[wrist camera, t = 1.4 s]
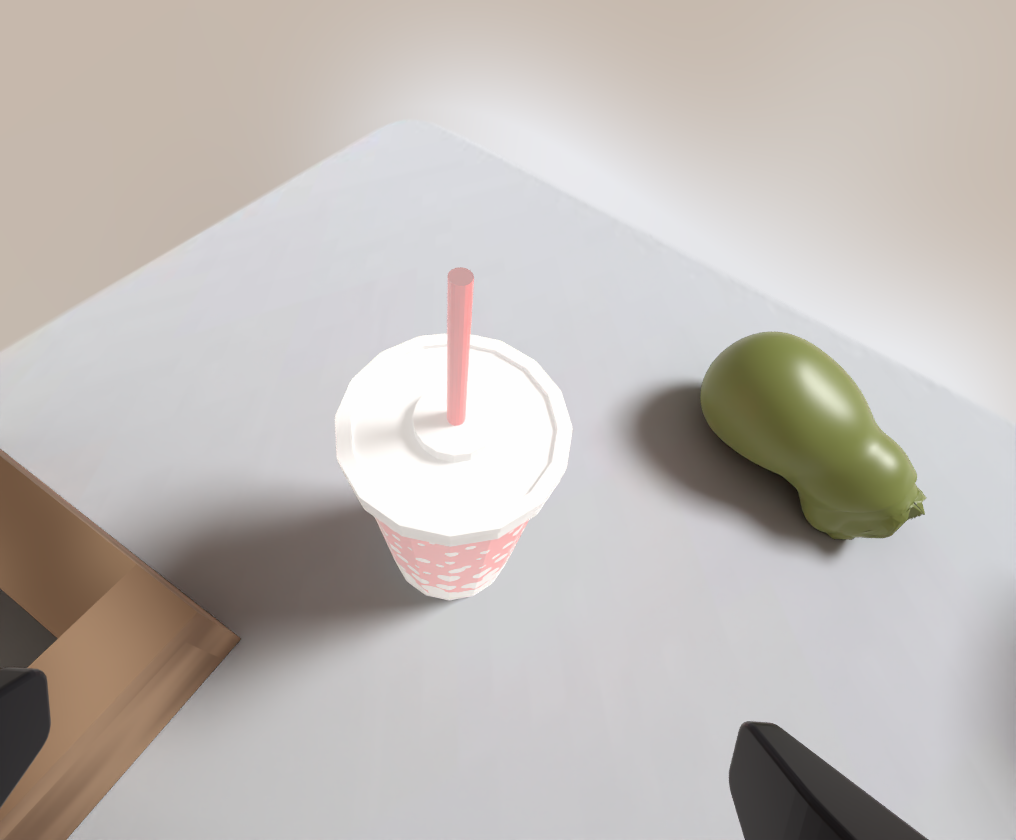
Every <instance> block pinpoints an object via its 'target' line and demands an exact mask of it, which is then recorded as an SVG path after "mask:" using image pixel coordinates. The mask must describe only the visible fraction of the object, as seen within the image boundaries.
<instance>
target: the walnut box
mask: <svg viewBox="0 0 1016 840" xmlns="http://www.w3.org/2000/svg"><path fill="white" fill-rule="evenodd" d="M0 589H2V590H3V591H4V592H5V593H6V594H7V595H8V596H10V597H11V598H12V599H13V600H14V601H15V602H16V603H18V604H19V605H20V606H21V607H22V608H23V609H24V610H26V611H27V612H28V613H29V614H30V615H31V616H32V617H34V618H35V619H36V620H37V621H38V622H39V623H40V624H42V625H43V626H44V627H45V628H46V629H47V630H49V631H50V632H51V633H52V634H53V635H54V636H55V637H57V638H58V639H57V640H56V641H55V642H54V643H53V644H52V645H51V646H50V647H49V648H48V649H46V650H45V651H44V652H43V653H42V654H41V655H40V656H39V657H38V658H37V659H36V660H35V661H34V662H33V663H32V664H31V665H30V666H29V667H27V668H33V669H39V670H41V671H43V672H44V674H45V675H46V677H47V683H48V694H49V705H50V716H51V727H50V732H49V735H48V738H47V740H46V742H45V744H44V746H43V747H42V749H41V751H40V752H39V753H38V755H37V756H36V758H35V759H34V761H33V762H32V764H31V765H30V766H29V768H28V769H27V771H26V772H25V774H24V775H23V777H22V778H21V779H20V781H19V782H18V784H17V785H16V787H15V788H14V789H13V791H12V792H11V794H10V795H9V797H8V798H7V800H6V801H5V802H4V804H3V805H2V807H1V808H0V840H66V839H67V838H68V837H69V836H70V835H71V834H72V832H73V831H74V830H75V829H76V828H77V827H78V826H79V824H80V823H81V822H82V821H83V820H84V819H85V818H86V816H87V815H88V814H89V813H90V812H91V811H92V810H93V808H94V807H95V806H96V805H97V804H98V803H99V801H100V800H101V799H102V798H103V797H104V796H105V795H106V793H107V792H108V791H109V790H110V789H111V788H112V787H113V785H114V784H115V783H116V782H117V781H118V780H119V779H120V777H121V776H122V775H123V774H124V773H125V772H126V770H127V769H128V768H129V767H130V766H131V765H132V764H133V762H134V761H135V760H136V759H137V758H138V757H139V756H140V754H141V753H142V752H143V751H144V750H145V749H146V748H147V746H148V745H149V744H150V743H151V742H152V741H153V739H154V738H155V737H156V736H157V735H158V734H159V733H160V731H161V730H162V729H163V728H164V727H165V726H166V725H167V723H168V722H169V721H170V720H171V719H172V718H173V717H174V715H175V714H176V713H177V712H178V711H179V710H180V708H181V707H182V706H183V705H184V704H185V703H186V702H187V700H188V699H189V698H190V697H191V696H192V695H193V694H194V692H195V691H196V690H197V689H198V688H199V687H200V686H201V684H202V683H203V682H204V681H205V680H206V679H207V677H208V676H209V675H210V674H211V673H212V672H213V671H214V669H215V668H216V667H217V666H218V665H219V664H220V663H221V661H222V660H223V659H224V658H225V657H226V656H227V655H228V653H229V652H230V651H231V650H232V649H233V648H234V646H235V645H236V644H237V643H238V642H239V641H240V640H241V638H240V637H238V636H237V635H236V634H235V633H233V632H232V631H231V630H229V629H228V628H227V627H226V626H224V625H223V624H222V623H221V622H219V621H218V620H217V619H215V618H214V617H213V616H212V615H210V614H209V613H208V612H207V611H205V610H204V609H203V608H202V607H200V606H199V605H198V604H196V603H195V602H194V601H193V600H191V599H190V598H189V597H188V596H186V595H185V594H184V593H183V592H181V591H180V590H179V589H177V588H176V587H175V586H174V585H172V584H171V583H170V582H169V581H167V580H166V579H165V578H163V577H162V576H161V575H160V574H158V573H157V572H156V571H155V570H153V569H152V568H151V567H150V566H148V565H147V564H146V563H144V562H143V561H142V560H141V559H139V558H138V557H137V556H136V555H134V554H133V553H132V552H131V551H129V550H128V549H127V548H125V547H124V546H123V545H122V544H120V543H119V542H118V541H117V540H115V539H114V538H113V537H111V536H110V535H109V534H108V533H106V532H105V531H104V530H103V529H101V528H100V527H99V526H98V525H96V524H95V523H94V522H92V521H91V520H90V519H89V518H87V517H86V516H85V515H84V514H82V513H81V512H80V511H79V510H77V509H76V508H75V507H73V506H72V505H71V504H70V503H68V502H67V501H66V500H65V499H63V498H62V497H61V496H60V495H58V494H57V493H56V492H54V491H53V490H52V489H51V488H49V487H48V486H47V485H46V484H44V483H43V482H42V481H40V480H39V479H38V478H37V477H35V476H34V475H33V474H32V473H30V472H29V471H28V470H27V469H25V468H24V467H23V466H21V465H20V464H19V463H18V462H16V461H15V460H14V459H13V458H11V457H10V456H9V455H8V454H6V453H5V452H4V451H2V450H1V449H0Z"/></svg>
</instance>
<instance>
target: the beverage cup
mask: <svg viewBox="0 0 1016 840" xmlns="http://www.w3.org/2000/svg"><path fill="white" fill-rule="evenodd" d="M473 284H474V276H473V273H472V272H471V271H470V270H468V269H466V268H455V269H452V270H451V271H450V272H449V274H448V305H447V333H446V334H435V335H424V336H418V337H415V338H413V339H411V340H408V341H406V342H404V343H401V344H399V345H397V346H394V347H392V348H390V349H387V350H385V351H383V352H380V353H379V354H378V355H377V356H376V357H375V358H374V359H373V360H372V361H371V362H370V363H369V364H368V365H367V366H365V367H364V368H363V369H362V370H361V371H360V372H359V373H358V374H357V375H356V376H355V377H354V378H353V379H352V380H351V381H350V383H349V386H348V388H347V390H346V392H345V395H344V397H343V399H342V402H341V404H340V406H339V408H338V411H337V413H336V415H335V432H336V453H337V460H338V463H339V465H340V467H341V469H342V470H343V473H344V475H345V477H346V479H347V480H348V482H349V484H350V486H351V487H352V489H353V491H354V493H355V494H356V496H357V498H358V500H359V501H360V503H361V505H362V506H363V508H364V510H366V511H367V512H368V513H370V514H371V515H373V516H374V517H375V519H376V521H377V523H378V525H379V527H380V530H381V532H382V534H383V536H384V538H385V540H386V543H387V545H388V547H389V549H390V551H391V553H392V555H393V558H394V560H395V562H396V564H397V565H398V567H399V569H400V571H401V572H402V574H403V576H404V577H405V579H406V581H407V582H408V583H410V584H411V585H412V586H414V587H415V588H416V589H418V590H419V591H421V592H422V593H423V594H425V595H427V596H431V597H436V598H440V599H445V600H454V599H460V598H465V597H471V596H474V595H475V594H477V593H478V592H480V591H481V590H483V589H484V588H486V587H488V586H489V585H491V584H492V583H493V582H494V580H495V579H496V577H497V576H498V574H499V573H500V572H501V570H502V569H503V567H504V566H505V564H506V562H507V560H508V559H509V557H510V555H511V553H512V551H513V549H514V547H515V545H516V543H517V542H518V540H519V538H520V536H521V534H522V532H523V530H524V528H525V526H526V525H527V523H528V521H529V519H531V518H533V517H534V516H536V515H537V514H538V512H539V511H540V509H541V508H542V506H543V505H544V504H545V502H546V501H547V499H548V498H549V496H550V495H551V493H552V492H553V490H554V489H555V487H556V486H557V484H558V483H559V482H560V479H561V477H562V476H563V474H564V473H565V471H566V468H567V463H568V456H569V449H570V443H571V436H572V429H573V427H572V424H571V421H570V418H569V414H568V411H567V408H566V404H565V401H564V398H563V395H562V391H561V390H560V389H559V388H558V386H557V385H556V384H555V383H554V382H553V380H552V379H551V378H550V377H549V376H548V375H547V373H546V372H545V371H544V370H543V369H542V367H541V366H540V365H539V364H538V363H537V361H535V360H534V359H532V358H530V357H528V356H527V355H525V354H523V353H521V352H520V351H518V350H516V349H514V348H513V347H511V346H509V345H507V344H506V343H504V342H502V341H499V340H495V339H490V338H485V337H481V336H476V335H471V317H472V301H473Z"/></svg>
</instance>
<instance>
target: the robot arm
mask: <svg viewBox="0 0 1016 840" xmlns="http://www.w3.org/2000/svg"><path fill="white" fill-rule="evenodd" d="M50 727H51V716H50V705H49V694H48V683H47V677H46V675H45V674H44V672H43V671H41V670H39V669H33V668H20V667H6V668H2V669H0V808H1V807H2V805H3V804H4V802H5V801H6V800H7V798H8V797H9V795H10V794H11V792H12V791H13V789H14V788H15V787H16V785H17V784H18V782H19V781H20V779H21V778H22V777H23V775H24V774H25V772H26V771H27V769H28V768H29V766H30V765H31V764H32V762H33V761H34V759H35V758H36V756H37V755H38V753H39V752H40V751H41V749H42V747H43V746H44V744H45V742H46V740H47V738H48V735H49V732H50ZM729 785H730V791H731V795H732V798H733V801H734V805H735V808H736V812H737V815H738V818H739V822H740V825H741V828H742V832H743V835H744V838H745V840H928V839H927V838H926V837H924V836H923V835H922V834H920V833H919V832H918V831H916V830H915V829H914V828H912V827H911V826H910V825H908V824H907V823H906V822H904V821H903V820H902V819H900V818H899V817H898V816H896V815H895V814H894V813H893V812H891V811H890V810H889V809H887V808H886V807H885V806H883V805H882V804H881V803H879V802H878V801H877V800H875V799H874V798H873V797H871V796H870V795H869V794H867V793H866V792H865V791H863V790H862V789H861V788H860V787H858V786H857V785H856V784H854V783H853V782H852V781H850V780H849V779H848V778H846V777H845V776H844V775H842V774H841V773H840V772H838V771H837V770H836V769H834V768H833V767H832V766H831V765H829V764H828V763H827V762H825V761H824V760H823V759H821V758H820V757H819V756H817V755H816V754H815V753H813V752H812V751H811V750H809V749H808V748H807V747H805V746H804V745H803V744H801V743H800V742H799V741H798V740H796V739H795V738H794V737H792V736H791V735H790V734H788V733H787V732H786V731H784V730H783V729H782V728H780V727H779V726H777V725H776V724H773V723H767V722H753V721H747V722H744V723H743V724H742V725H741V727H740V729H739V732H738V736H737V740H736V744H735V749H734V753H733V757H732V761H731V765H730V770H729Z"/></svg>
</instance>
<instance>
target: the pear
mask: <svg viewBox="0 0 1016 840" xmlns="http://www.w3.org/2000/svg"><path fill="white" fill-rule="evenodd" d="M700 401H701V407H702V411H703V414H704V417H705V419H706V421H707V423H708V424H709V426H710V427H711V429H712V430H713V431H714V433H715V434H716V435H717V436H718V437H719V438H720V439H721V440H722V441H723V442H725V443H726V444H727V445H728V446H730V447H731V448H732V449H733V450H735V451H736V452H737V453H739V454H740V455H742V456H743V457H745V458H747V459H748V460H750V461H752V462H754V463H755V464H757V465H759V466H761V467H763V468H765V469H767V470H770V471H772V472H774V473H777V474H779V475H780V476H782V477H784V478H785V479H786V480H787V481H789V482H790V483H791V484H792V485H793V486H794V487H795V488H796V489H797V491H798V493H799V497H800V502H801V507H802V511H803V513H804V516H805V518H806V519H807V521H808V522H809V523H810V524H811V525H812V526H813V527H814V528H816V529H817V530H820V531H822V532H825V533H827V534H828V535H829V536H830V537H831V538H833V539H848V540H852V539H854V538H855V537H865V538H886V537H889V536H891V535H893V534H894V533H895V532H896V531H897V530H898V529H899V528H900V527H901V526H902V525H903V524H904V523H905V522H906V521H907V520H908V519H911V518H912V519H913V518H914V517H916V516H917V515H918V516H921V514H923V515H925V513H924V509H923V504H922V501H923V500H925V499H926V497H925V496H924V494H923V492H922V491H921V490H920V489H919V488H917V486H916V484H915V482H916V480H917V474H916V471H915V469H914V467H913V466H912V464H911V462H910V460H909V458H908V456H907V455H906V453H905V452H904V451H903V449H902V448H901V447H900V446H899V445H898V444H897V443H896V442H895V441H894V440H892V439H891V438H890V437H889V436H888V435H887V434H885V433H884V432H883V431H882V430H881V429H880V428H879V426H878V425H877V423H876V422H875V420H874V418H873V415H872V413H871V410H870V408H869V406H868V403H867V401H866V399H865V398H864V396H863V394H862V392H861V391H860V389H859V388H858V386H857V385H856V383H855V382H854V381H853V380H852V378H851V377H850V376H849V375H848V374H847V372H846V371H845V370H844V369H843V368H842V367H841V366H840V365H839V364H838V363H837V362H835V361H834V360H833V359H832V358H831V357H830V356H828V355H827V354H826V353H825V352H823V351H822V350H821V349H819V348H818V347H816V346H815V345H813V344H812V343H810V342H808V341H806V340H804V339H802V338H800V337H797V336H795V335H791V334H788V333H783V332H762V333H757V334H753V335H750V336H747V337H745V338H742V339H740V340H738V341H737V342H735V343H733V344H732V345H730V346H729V347H728V348H726V349H725V350H724V351H723V352H722V353H721V354H720V355H719V356H718V357H717V358H716V359H715V360H714V361H713V363H712V364H711V365H710V367H709V369H708V370H707V372H706V374H705V377H704V379H703V382H702V386H701V393H700Z"/></svg>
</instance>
